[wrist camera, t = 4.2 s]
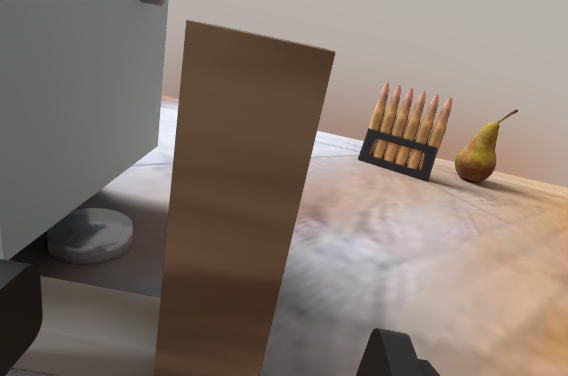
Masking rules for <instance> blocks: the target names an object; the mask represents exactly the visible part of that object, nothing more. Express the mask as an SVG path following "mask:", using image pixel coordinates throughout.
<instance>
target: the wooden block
mask: <svg viewBox="0 0 568 376" xmlns="http://www.w3.org/2000/svg"><path fill="white" fill-rule="evenodd" d="M334 56H335V52H334V51H330V50H328V49H325V48H320V47H315V46H311V45H306V44H301V43H297V42H292V41H288V40H283V39H278V38H274V37H269V36H264V35H260V34H255V33H250V32H246V31H241V30H236V29H231V28H227V27H222V26H217V25H211V24H206V23H200V22H193V21H188V20H187V21H186V30H185V41H184V52H183V63H182V74H181V85H180V95H179V106H178V117H177V127H176V138H175V149H174V160H173V171H172V181H171V192H170V203H169V214H168V224H167V235H166V246H165V257H164V268H163V278H162V289H161V298H159V297H154V296H148V295H143V294H137V293H132V292H126V291H121V290H115V289H110V288H104V287H99V286H94V285H88V284H83V283H77V282H72V281H66V280H61V279H55V278H50V277H44V276H40V277H41V294H42V311H43V320H42V325H41V328H40V331H39V333H38V335H37V337H36V339H35V340H34V342H33V343H32V345H31V346H30V347H29V348H28V349H27V351H26V352H25V353H24V354H23V355H22V356H21V357H20V359H19V360H18V361H17V362H16V363H15V364H14V366H13V367H12V368H16V369H22V370H28V371H33V372H39V373H45V374H51V375H57V376H259V375H260V370H261V366H262V362H263V358H264V353H265V349H266V345H267V341H268V336H269V332H270V328H271V324H272V319H273V315H274V311H275V307H276V302H277V298H278V294H279V290H280V285H281V281H282V277H283V273H284V268H285V264H286V260H287V256H288V251H289V247H290V243H291V239H292V235H293V230H294V226H295V222H296V218H297V213H298V209H299V205H300V201H301V196H302V192H303V188H304V184H305V179H306V175H307V171H308V167H309V162H310V158H311V154H312V150H313V145H314V141H315V137H316V133H317V128H318V124H319V120H320V115H321V111H322V107H323V103H324V99H325V94H326V90H327V86H328V81H329V77H330V73H331V69H332V65H333V60H334Z"/></svg>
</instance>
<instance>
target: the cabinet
mask: <svg viewBox="0 0 568 376" xmlns="http://www.w3.org/2000/svg"><path fill="white" fill-rule="evenodd" d="M167 11H168V0H0V259H5V260H9V259H10V258H12V257H13V256H14V255H15V254H17V253H18V252H19V251H21V250H22V249H23V248H25V247H26V246H27V245H29V244H30V243H31V242H32V241H34V240H35V239H36V238H38V237H39V236H40V235H42V234H43V233H44V232H46V231H47V230H48V229H50V228H51V227H52V226H53V225H55V224H56V223H57V222H59V221H60V220H61V219H63V218H64V217H65V216H67V215H68V214H69V213H70V212H72V211H73V210H74V209H76V208H77V207H78V206H80V205H81V204H82V203H84V202H85V201H86V200H87V199H89V198H90V197H91V196H93V195H94V194H95V193H97V192H98V191H99V190H101V189H102V188H103V187H104V186H106V185H107V184H108V183H110V182H111V181H112V180H114V179H115V178H116V177H118V176H119V175H120V174H121V173H123V172H124V171H125V170H127V169H128V168H129V167H131V166H132V165H133V164H135V163H136V162H137V161H138V160H140V159H141V158H142V157H144V156H145V155H146V154H148V153H149V152H150V151H152V150H153V149H154V148H156V147H157V146H158V133H159V120H160V106H161V93H162V80H163V66H164V52H165V39H166V25H167Z"/></svg>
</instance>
